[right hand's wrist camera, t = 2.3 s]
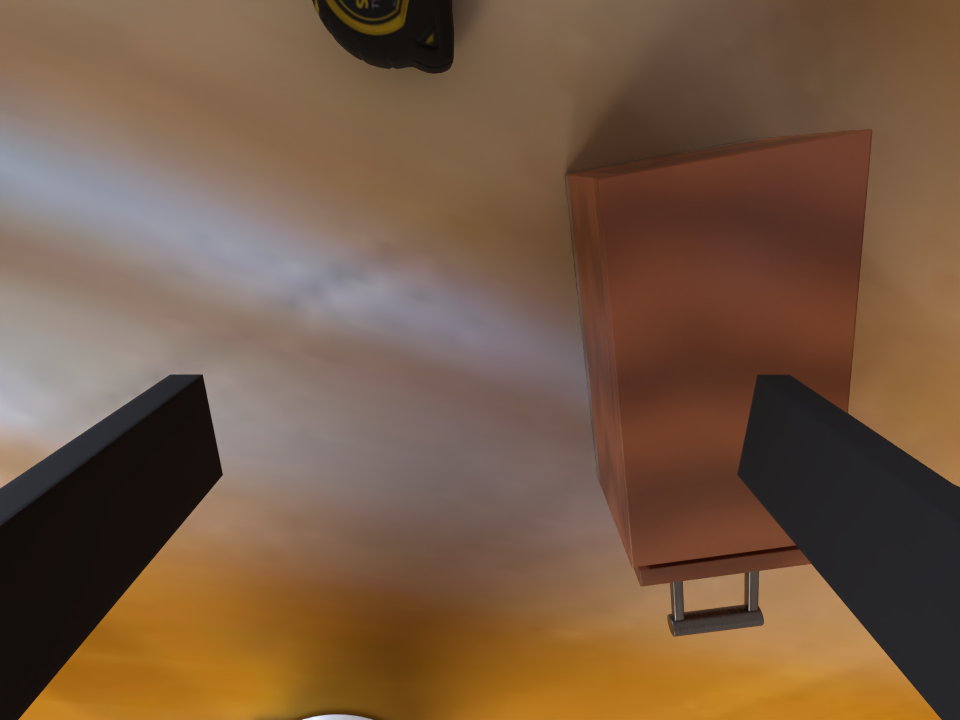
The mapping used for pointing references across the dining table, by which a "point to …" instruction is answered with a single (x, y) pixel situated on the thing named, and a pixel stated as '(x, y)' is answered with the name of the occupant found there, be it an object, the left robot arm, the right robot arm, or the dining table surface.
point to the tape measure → (393, 31)
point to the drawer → (714, 567)
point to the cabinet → (710, 322)
